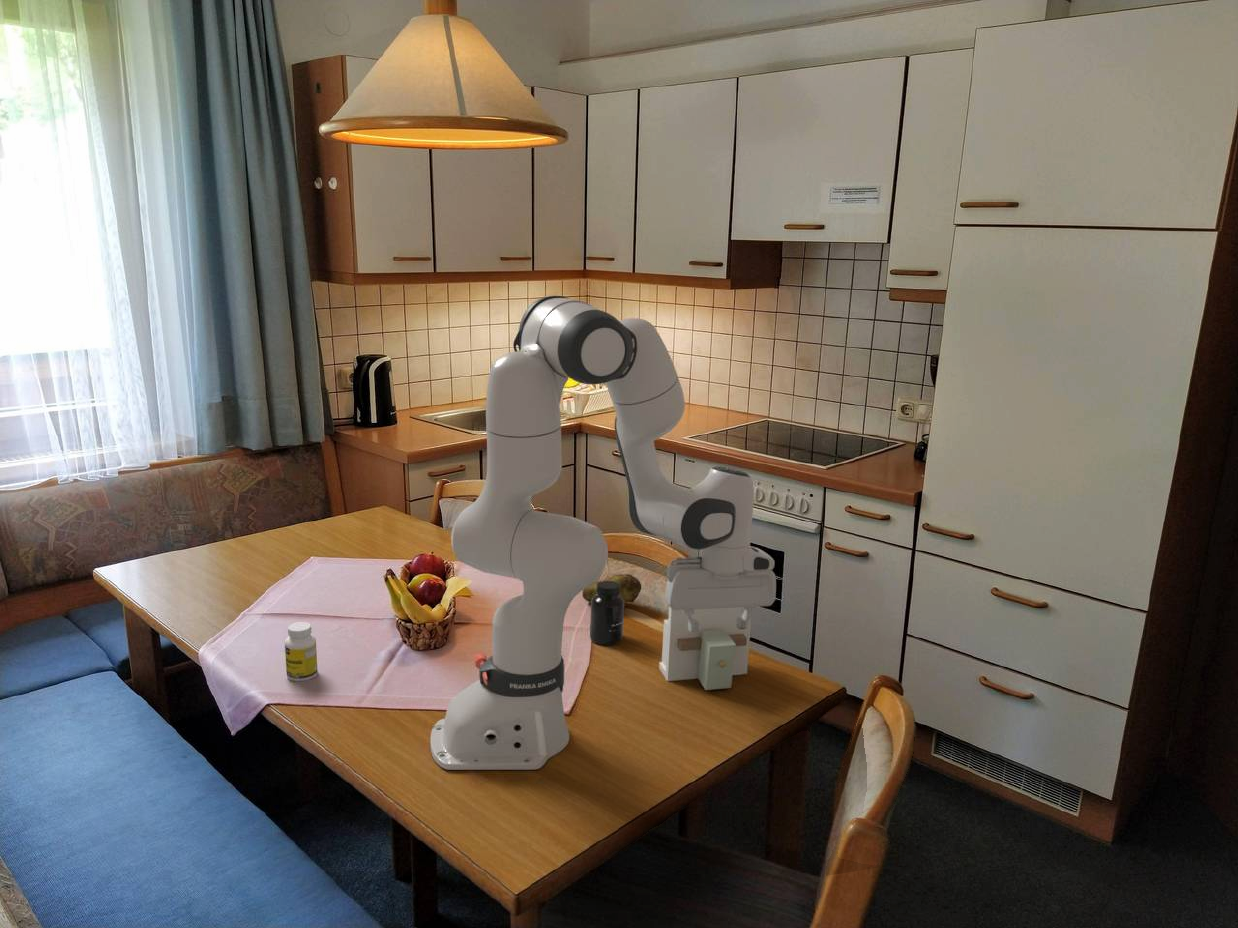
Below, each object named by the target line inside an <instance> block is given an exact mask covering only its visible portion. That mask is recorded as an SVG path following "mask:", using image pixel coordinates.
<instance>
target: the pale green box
mask: <svg viewBox="0 0 1238 928" xmlns="http://www.w3.org/2000/svg"><path fill="white" fill-rule="evenodd" d="M701 639H702V646H701V656H700V664H699V665H698V674H699V677H698V678H697V679H698V680H699V682H700V684H701V685H702V687H703V688H704V690H705V691H712V690H722V689H730V688H732V684H733V676H734V675H733V666H734V657H735V648H736V644H735V643H734V641H733V640H732V639H731V637H730V636H729V635H728V634H725V633H724V631H723V630H722V629H718V630H706V631H702V634H701Z"/></svg>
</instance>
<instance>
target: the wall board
mask: <svg viewBox="0 0 1238 928" xmlns="http://www.w3.org/2000/svg"><path fill="white" fill-rule="evenodd" d="M745 610H746V609H745V608H744V607H734V608H711V609H695V610H694V614H693V615H692V614H691V616H692V618H693V619H696V620H697V621H698V622H699V627H698V628H699V630H698V631H695V632H690V631H689V630H688V619H687V617H686V615H685V613H684V611H683V610H673V609H671V608H670V607H669V606H668V618H667V619H663V631H662V632H663V633H662V650H661V652H662V653H661V661H658V664H659V665H658V668H659V670H660V672H661V673H662V675H663V676H664V678H665V680H666V681H667V682H673V681H682V680H683V681H684V680H685V681H686V680H695V679H698V677H699V674H698V665H699V664H700V656H701V646H702V639H701V634H702V631H706V630H718V629H722V630H723V631H724V633H725V634H728V635H729V636H730V637H731V639H732V640H733V641H734V643H735V644H736V648H735V657H734V666H733V675H732V676H737V675H747V674H748V665H749V664H748V663H749V653H750V652H749V650H750V639H751V626H752V617H751V618H750V619H749V621H748V627H747V629H739V628H737V625H736V624H737V617H741V616H742V615H743V613H744V611H745Z"/></svg>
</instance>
